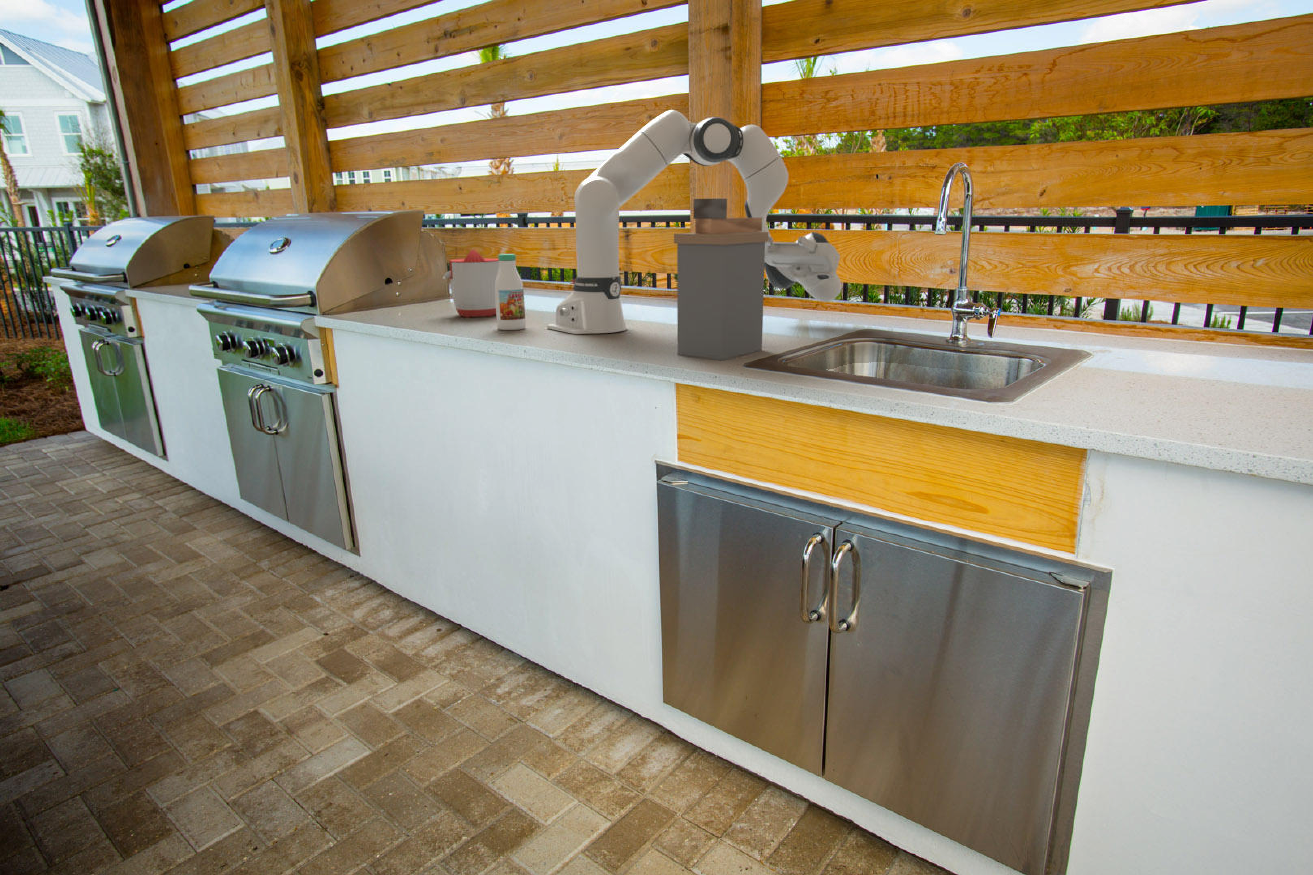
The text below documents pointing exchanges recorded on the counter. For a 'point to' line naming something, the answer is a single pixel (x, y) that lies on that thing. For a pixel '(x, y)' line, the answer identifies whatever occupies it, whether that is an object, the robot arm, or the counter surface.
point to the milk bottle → (509, 295)
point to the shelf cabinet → (720, 293)
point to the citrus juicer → (473, 284)
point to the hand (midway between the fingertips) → (783, 239)
